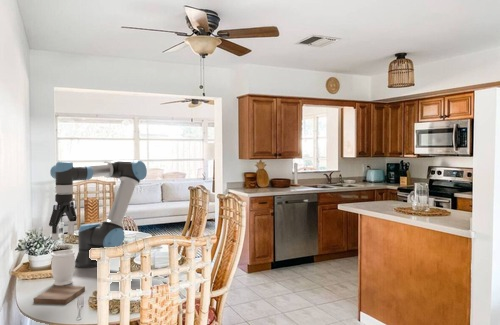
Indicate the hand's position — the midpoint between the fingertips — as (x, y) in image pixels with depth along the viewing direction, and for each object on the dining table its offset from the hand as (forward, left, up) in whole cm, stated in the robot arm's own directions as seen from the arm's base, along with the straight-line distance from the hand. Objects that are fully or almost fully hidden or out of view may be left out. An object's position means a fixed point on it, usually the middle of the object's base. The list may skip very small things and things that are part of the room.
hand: (63, 237), depth 183 cm
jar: (0, 0, -23) cm, 23 cm away
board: (+17, +9, -22) cm, 29 cm away
